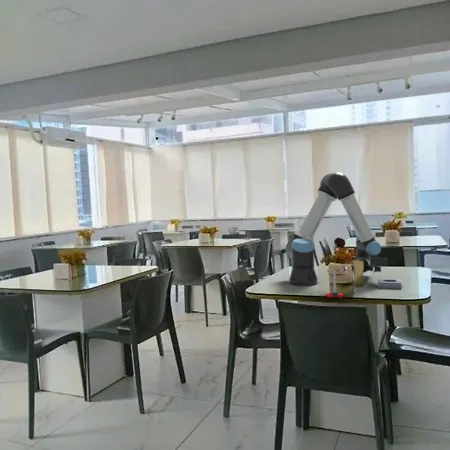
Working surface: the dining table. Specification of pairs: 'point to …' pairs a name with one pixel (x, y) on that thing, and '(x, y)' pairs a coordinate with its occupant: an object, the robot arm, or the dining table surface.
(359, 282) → the golden tall block
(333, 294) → the grey spike red base
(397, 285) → the jig
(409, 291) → the dining table surface
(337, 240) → the dark brown rounded piece
